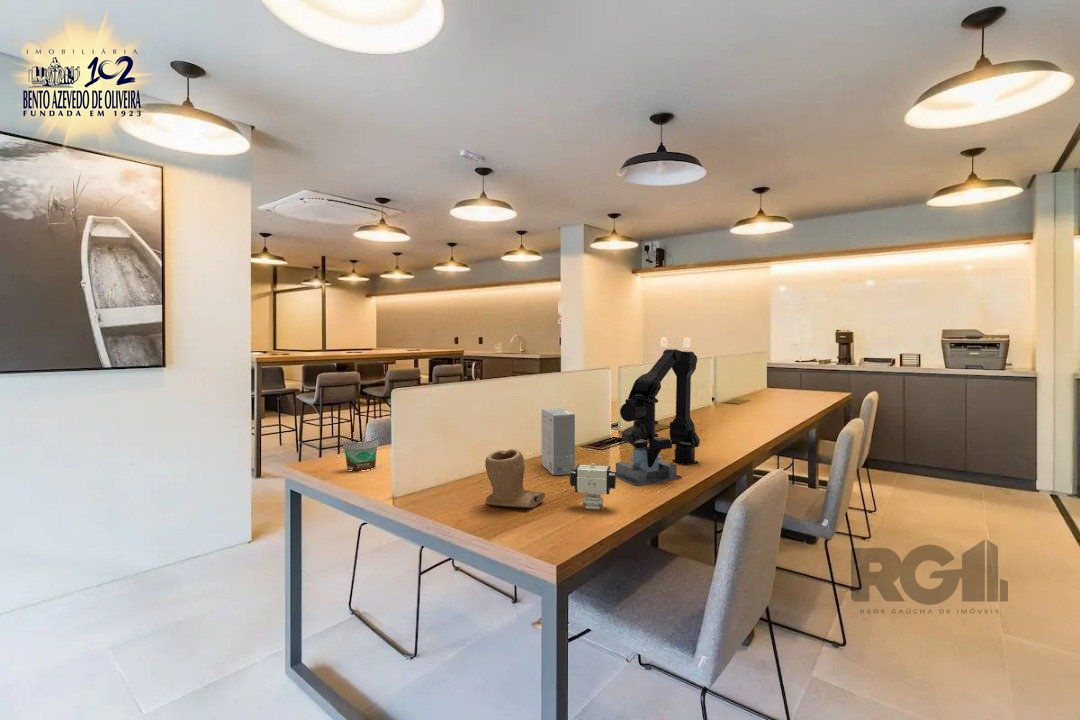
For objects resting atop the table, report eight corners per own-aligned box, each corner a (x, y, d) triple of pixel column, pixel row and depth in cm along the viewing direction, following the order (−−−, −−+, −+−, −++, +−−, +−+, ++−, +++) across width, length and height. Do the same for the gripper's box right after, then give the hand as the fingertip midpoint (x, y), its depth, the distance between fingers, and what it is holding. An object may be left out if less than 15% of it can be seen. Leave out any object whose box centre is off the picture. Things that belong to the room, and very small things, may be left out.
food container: (350, 475, 165) (349, 445, 164) (343, 471, 169) (342, 442, 169) (385, 468, 173) (384, 439, 172) (377, 465, 177) (377, 437, 177)
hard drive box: (575, 474, 164) (575, 414, 163) (553, 476, 162) (553, 415, 161) (561, 462, 179) (561, 407, 178) (540, 464, 177) (540, 408, 176)
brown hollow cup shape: (477, 509, 132) (476, 453, 131) (495, 496, 143) (495, 444, 142) (531, 516, 127) (530, 458, 126) (545, 501, 138) (545, 447, 137)
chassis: (653, 468, 171) (653, 456, 171) (682, 478, 159) (682, 465, 158) (610, 474, 163) (610, 462, 163) (636, 486, 151) (636, 473, 150)
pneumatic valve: (572, 503, 136) (572, 460, 135) (615, 506, 133) (615, 462, 133) (569, 510, 131) (569, 465, 130) (614, 513, 128) (614, 467, 127)
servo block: (635, 474, 157) (635, 452, 156) (627, 471, 160) (628, 449, 160) (663, 469, 162) (663, 448, 161) (655, 466, 165) (655, 445, 165)
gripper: (608, 415, 165) (608, 462, 166) (644, 424, 148) (644, 476, 149) (635, 412, 170) (635, 458, 171) (673, 421, 153) (672, 471, 154)
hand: (645, 465), depth 161 cm, fingers closed on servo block, 4 cm apart
